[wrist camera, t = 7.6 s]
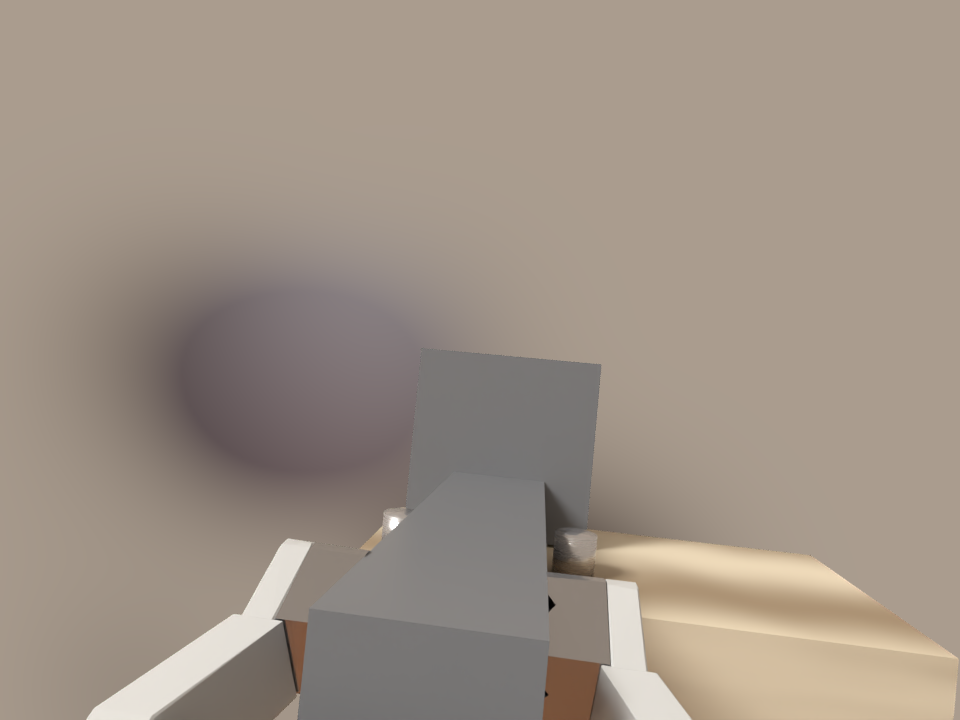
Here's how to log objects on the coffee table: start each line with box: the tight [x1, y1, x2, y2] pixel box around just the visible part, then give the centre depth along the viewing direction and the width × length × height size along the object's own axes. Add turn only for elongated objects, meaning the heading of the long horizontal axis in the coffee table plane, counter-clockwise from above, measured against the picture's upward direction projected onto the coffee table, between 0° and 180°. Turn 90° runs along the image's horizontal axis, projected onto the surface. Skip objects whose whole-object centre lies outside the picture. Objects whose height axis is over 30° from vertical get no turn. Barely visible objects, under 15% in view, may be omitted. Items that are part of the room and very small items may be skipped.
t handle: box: [298, 348, 601, 720], centre depth 16 cm, size 16×6×6 cm, turn 174°
